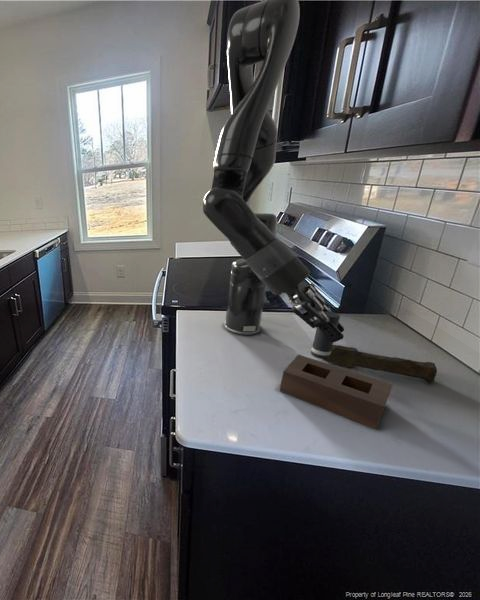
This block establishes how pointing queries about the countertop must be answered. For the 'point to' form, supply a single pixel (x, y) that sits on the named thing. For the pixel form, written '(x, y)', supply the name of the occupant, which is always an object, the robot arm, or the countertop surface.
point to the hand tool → (381, 363)
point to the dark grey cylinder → (324, 339)
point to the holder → (337, 389)
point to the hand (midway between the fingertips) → (338, 335)
